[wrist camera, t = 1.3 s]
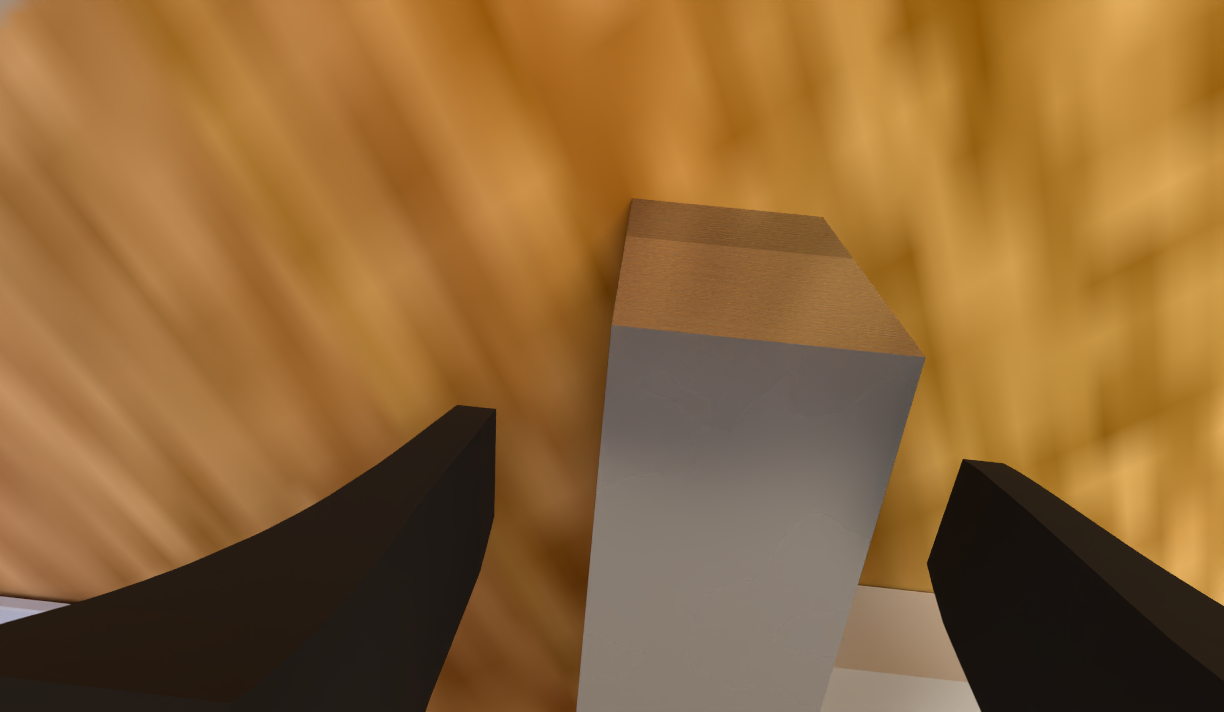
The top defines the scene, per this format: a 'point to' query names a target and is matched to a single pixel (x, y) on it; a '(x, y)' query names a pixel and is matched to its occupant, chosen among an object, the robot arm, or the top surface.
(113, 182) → the top surface
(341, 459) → the top surface
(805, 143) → the top surface
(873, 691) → the light grey flat piece
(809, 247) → the tall grey block
